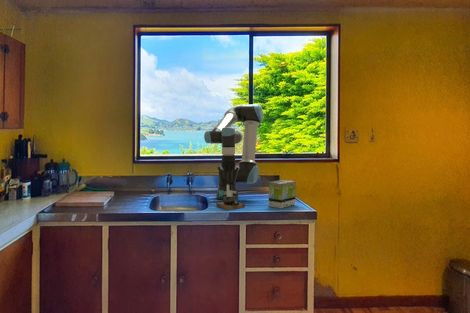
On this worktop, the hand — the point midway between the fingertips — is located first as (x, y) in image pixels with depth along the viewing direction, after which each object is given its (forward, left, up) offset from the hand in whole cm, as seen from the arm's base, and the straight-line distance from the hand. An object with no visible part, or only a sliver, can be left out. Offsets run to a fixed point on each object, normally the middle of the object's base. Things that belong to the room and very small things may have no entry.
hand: (228, 196), depth 199 cm
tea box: (-32, +10, -8) cm, 35 cm away
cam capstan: (-2, -5, -6) cm, 8 cm away
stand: (-5, -6, -8) cm, 11 cm away
